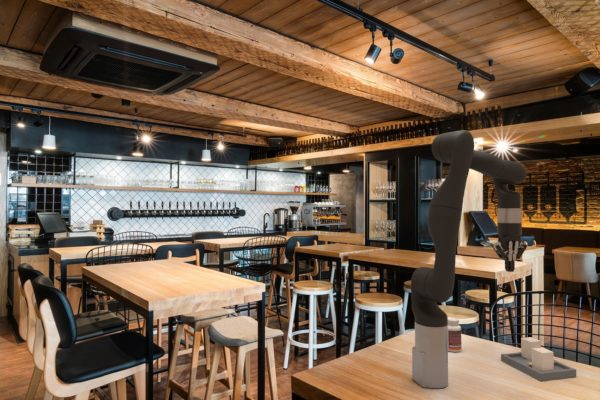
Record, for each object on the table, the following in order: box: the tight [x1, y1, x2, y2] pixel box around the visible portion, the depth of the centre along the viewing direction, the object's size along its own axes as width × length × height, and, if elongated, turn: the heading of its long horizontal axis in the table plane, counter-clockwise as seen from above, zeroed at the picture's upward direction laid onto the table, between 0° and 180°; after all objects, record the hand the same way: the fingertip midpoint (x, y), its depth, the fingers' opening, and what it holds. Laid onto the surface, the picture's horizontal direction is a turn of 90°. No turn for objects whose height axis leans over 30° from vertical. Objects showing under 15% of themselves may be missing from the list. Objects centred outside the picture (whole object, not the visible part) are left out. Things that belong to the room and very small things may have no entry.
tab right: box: [532, 346, 555, 372], centre depth 120 cm, size 4×4×6 cm
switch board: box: [500, 351, 577, 382], centre depth 125 cm, size 13×16×2 cm
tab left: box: [520, 336, 542, 359], centre depth 130 cm, size 4×4×6 cm
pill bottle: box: [447, 316, 463, 353], centre depth 142 cm, size 6×6×11 cm
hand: (509, 271), depth 136 cm, fingers closed
